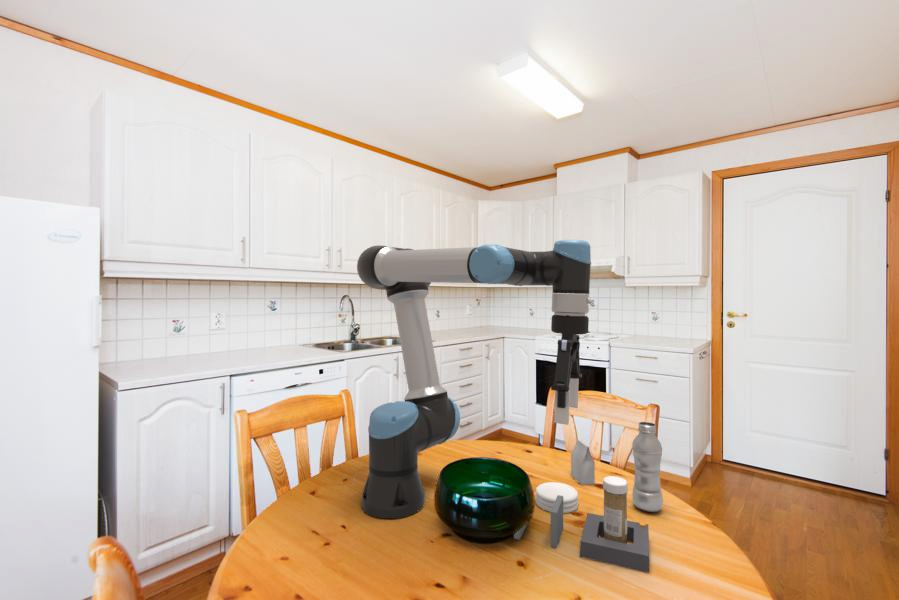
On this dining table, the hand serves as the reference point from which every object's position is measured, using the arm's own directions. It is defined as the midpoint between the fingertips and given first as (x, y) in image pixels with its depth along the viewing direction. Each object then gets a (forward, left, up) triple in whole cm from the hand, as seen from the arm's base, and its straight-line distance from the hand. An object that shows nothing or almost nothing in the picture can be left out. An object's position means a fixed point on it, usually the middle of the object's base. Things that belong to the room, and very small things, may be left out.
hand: (566, 414), depth 91 cm
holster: (-5, -3, -25) cm, 26 cm away
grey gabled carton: (0, +29, -25) cm, 39 cm away
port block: (+10, -2, -25) cm, 27 cm away
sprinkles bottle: (+10, -2, -25) cm, 27 cm away
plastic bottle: (+16, +18, -25) cm, 35 cm away
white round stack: (-4, +12, -25) cm, 29 cm away
